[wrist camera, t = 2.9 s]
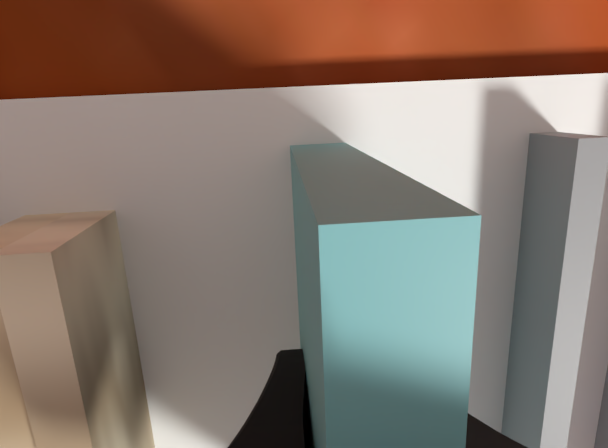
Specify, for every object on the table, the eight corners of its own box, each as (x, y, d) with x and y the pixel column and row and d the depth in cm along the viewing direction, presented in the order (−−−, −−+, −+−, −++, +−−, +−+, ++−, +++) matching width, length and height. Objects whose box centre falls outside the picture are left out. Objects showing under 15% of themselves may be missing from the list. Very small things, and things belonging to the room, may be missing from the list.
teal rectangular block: (351, 494, 15) (433, 912, 7) (308, 498, 15) (343, 924, 7) (344, 142, 12) (481, 215, 4) (289, 145, 12) (318, 225, 4)
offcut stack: (159, 475, 14) (123, 591, 11) (47, 485, 14) (-25, 606, 11) (115, 210, 12) (50, 252, 8) (-22, 218, 12) (-144, 263, 8)
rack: (633, 476, 17) (739, 586, 13) (-1, 535, 16) (-92, 675, 12) (714, 69, 13) (904, 54, 9) (-132, 107, 12) (-336, 107, 8)
